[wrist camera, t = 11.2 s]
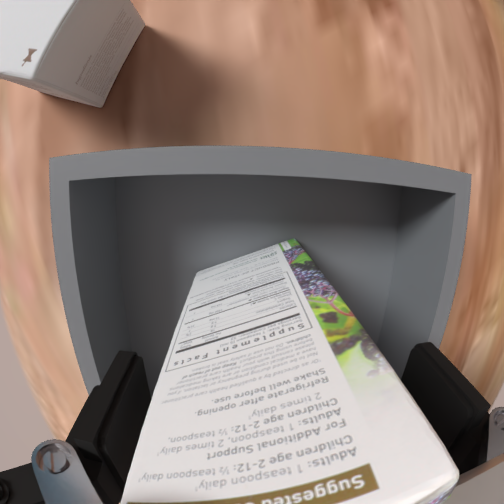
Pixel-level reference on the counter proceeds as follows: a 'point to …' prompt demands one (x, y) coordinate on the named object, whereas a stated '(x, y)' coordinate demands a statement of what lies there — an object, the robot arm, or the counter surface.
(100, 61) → the product box
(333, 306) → the syrup box
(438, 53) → the counter surface
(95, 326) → the tote
